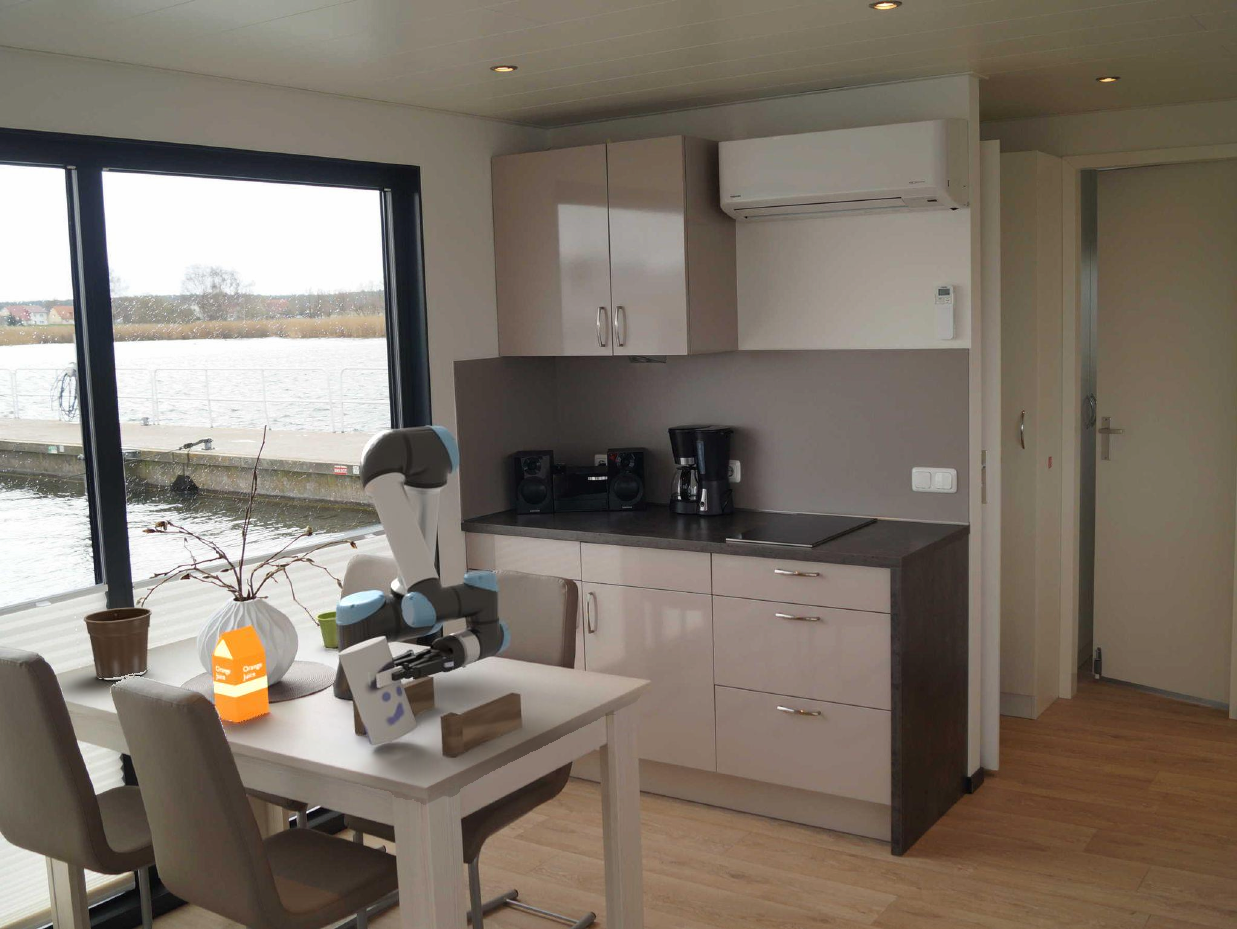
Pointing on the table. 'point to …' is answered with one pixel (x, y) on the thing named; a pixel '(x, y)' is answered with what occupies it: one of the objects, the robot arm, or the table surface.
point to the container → (377, 691)
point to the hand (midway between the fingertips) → (373, 679)
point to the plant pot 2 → (328, 628)
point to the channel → (460, 717)
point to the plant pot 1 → (119, 640)
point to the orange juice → (240, 675)
